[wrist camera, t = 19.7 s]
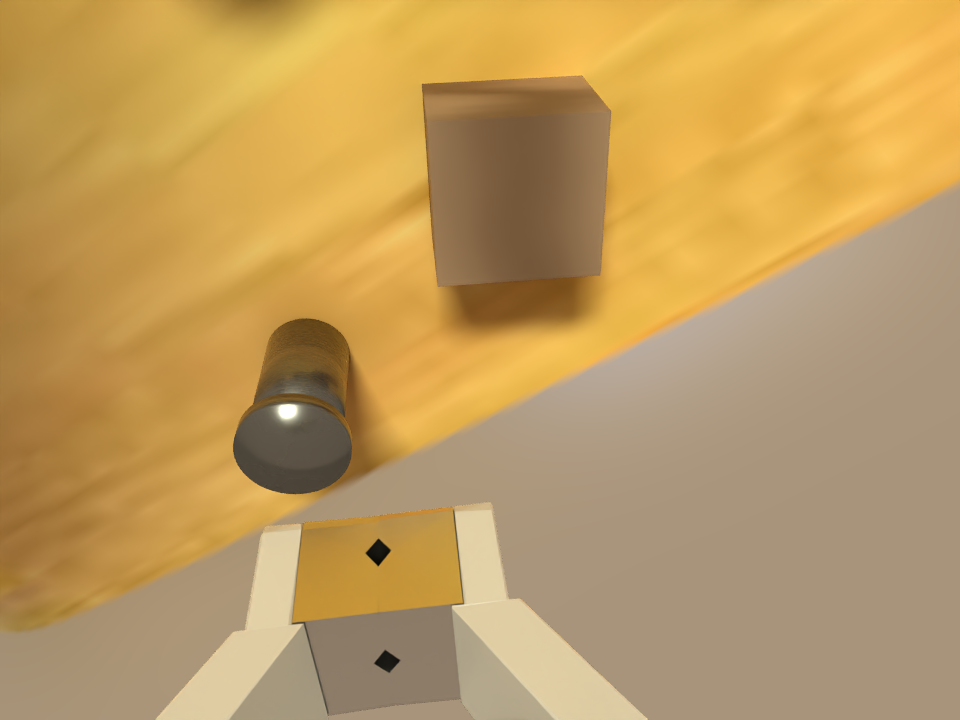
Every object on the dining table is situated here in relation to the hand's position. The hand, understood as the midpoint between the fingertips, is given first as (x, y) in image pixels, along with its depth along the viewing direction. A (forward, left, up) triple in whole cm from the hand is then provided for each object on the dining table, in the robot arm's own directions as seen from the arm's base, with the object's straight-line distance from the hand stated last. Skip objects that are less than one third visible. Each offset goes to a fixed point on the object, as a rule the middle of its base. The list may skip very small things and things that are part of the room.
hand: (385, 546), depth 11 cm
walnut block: (+4, -1, -18) cm, 18 cm away
